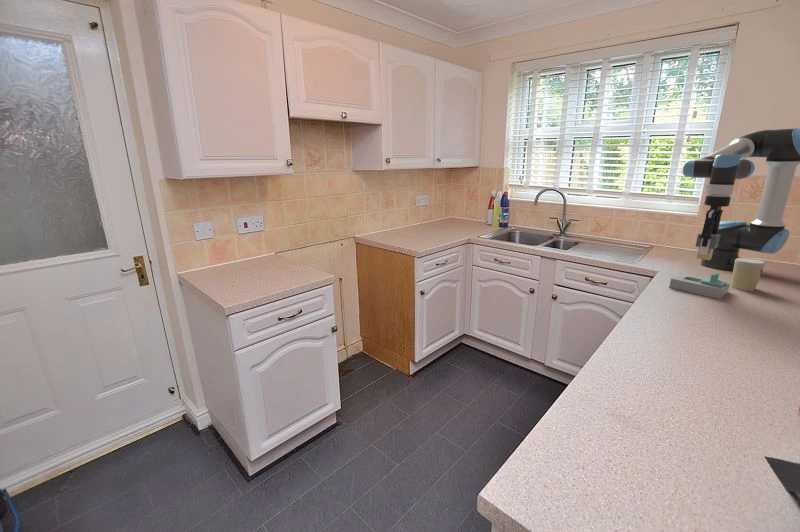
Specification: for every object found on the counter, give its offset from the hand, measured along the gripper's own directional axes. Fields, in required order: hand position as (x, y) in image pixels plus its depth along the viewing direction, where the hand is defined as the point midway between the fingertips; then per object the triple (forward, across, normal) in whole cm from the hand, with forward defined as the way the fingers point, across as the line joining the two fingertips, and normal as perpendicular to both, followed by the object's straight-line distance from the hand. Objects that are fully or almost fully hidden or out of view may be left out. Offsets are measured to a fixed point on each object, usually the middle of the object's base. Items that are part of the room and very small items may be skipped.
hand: (705, 252), depth 152 cm
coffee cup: (+16, -18, +12) cm, 27 cm away
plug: (+2, 0, 0) cm, 2 cm away
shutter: (+11, 0, +5) cm, 12 cm away
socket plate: (+16, 0, +1) cm, 16 cm away
